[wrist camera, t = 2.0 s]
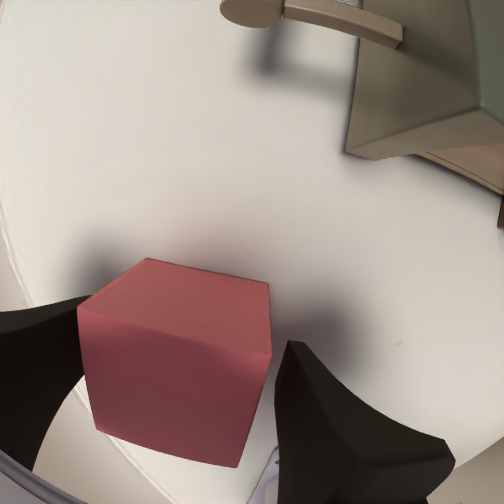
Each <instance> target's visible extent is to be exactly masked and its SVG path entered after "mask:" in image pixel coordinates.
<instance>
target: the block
mask: <svg viewBox="0 0 504 504" xmlns="http://www.w3.org/2000/svg"><path fill="white" fill-rule="evenodd" d="M77 317H78V329H79V339H80V347H81V355H82V362H83V368H84V374H85V380H86V386H87V391H88V396H89V401H90V405H91V410H92V414H93V418H94V422H95V426H96V429H97V430H99V431H101V432H104V433H106V434H109V435H111V436H114V437H117V438H119V439H122V440H125V441H127V442H130V443H133V444H136V445H139V446H142V447H145V448H148V449H152V450H155V451H158V452H162V453H165V454H169V455H173V456H177V457H181V458H185V459H189V460H194V461H198V462H203V463H208V464H213V465H219V466H224V467H231V468H237V467H238V464H239V462H240V459H241V456H242V453H243V450H244V447H245V444H246V441H247V438H248V435H249V432H250V429H251V425H252V422H253V419H254V416H255V413H256V410H257V406H258V403H259V400H260V397H261V393H262V390H263V387H264V383H265V380H266V377H267V373H268V370H269V366H270V363H271V359H272V342H271V322H270V302H269V285H268V284H267V283H263V282H257V281H252V280H247V279H242V278H237V277H232V276H227V275H222V274H217V273H212V272H208V271H203V270H198V269H193V268H189V267H184V266H179V265H175V264H170V263H165V262H161V261H156V260H152V259H147V258H146V259H144V260H143V261H141V262H140V263H138V264H137V265H135V266H134V267H132V268H131V269H129V270H128V271H126V272H125V273H124V274H122V275H121V276H119V277H118V278H116V279H115V280H114V281H112V282H111V283H109V284H108V285H106V286H105V287H104V288H102V289H101V290H99V291H98V292H97V293H95V294H94V295H92V296H91V297H90V298H88V299H87V300H86V301H84V302H83V303H81V304H80V305H79V306H78V307H77Z"/></svg>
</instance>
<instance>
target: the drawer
mask: <svg viewBox="0 0 504 504" xmlns="http://www.w3.org/2000/svg"><path fill="white" fill-rule="evenodd" d="M220 12H221V14H222V15H223V16H224V17H225V18H226V19H227V20H229V21H231V22H233V23H235V24H238V25H241V26H246V27H252V28H265V27H270V26H273V25H275V24H277V23H278V22H279V21H280V20H281V17H282V15H283V18H286V19H292V20H297V21H302V22H306V23H311V24H315V25H319V26H323V27H327V28H331V29H334V30H338V31H341V32H345V33H348V34H351V35H354V36H357V37H360V48H359V58H358V67H357V75H356V83H355V91H354V98H353V105H352V112H351V118H350V124H349V130H348V136H347V142H346V148H345V150H346V152H348V153H351V154H355V155H358V156H361V157H365V158H368V159H371V160H380V159H386V158H391V157H397V156H403V155H409V154H417V155H420V156H422V157H425V158H427V159H430V160H432V161H434V162H437V163H439V164H441V165H443V166H446V167H448V168H450V169H452V170H454V171H456V172H458V173H461V174H463V175H465V176H467V177H469V178H471V179H473V180H475V181H477V182H479V183H480V184H482V185H484V186H486V187H488V188H490V189H492V190H493V191H495V192H497V193H499V194H501V195H502V196H504V0H363V9H360V8H357V7H354V6H351V5H348V4H344V3H341V2H337V1H334V0H222V2H221V4H220ZM282 12H283V14H282Z"/></svg>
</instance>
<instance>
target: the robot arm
mask: <svg viewBox="0 0 504 504" xmlns="http://www.w3.org/2000/svg"><path fill="white" fill-rule="evenodd" d="M91 296H92V295H88V296H82V297H78V298H73V299H69V300H65V301H61V302H57V303H53V304H49V305H44V306H40V307H35V308H30V309H25V310H16V311H6V312H0V504H88V503H86V502H84V501H81V500H80V499H78V498H76V497H74V496H72V495H70V494H68V493H66V492H64V491H62V490H60V489H59V488H57V487H55V486H53V485H52V484H50V483H48V482H47V481H45V480H43V479H42V478H40V477H38V476H37V475H35V474H34V473H32V470H33V467H34V464H35V461H36V458H37V455H38V452H39V449H40V447H41V444H42V442H43V439H44V437H45V435H46V432H47V430H48V428H49V426H50V424H51V422H52V420H53V418H54V416H55V415H56V413H57V411H58V409H59V408H60V406H61V404H62V402H63V401H64V399H65V398H66V396H67V395H68V394H69V393H70V391H71V390H72V389H73V388H74V386H75V385H76V384H77V383H78V381H79V380H80V379H81V378H82V377H83V375H84V368H83V362H82V355H81V347H80V339H79V329H78V317H77V307H78V306H79V305H80V304H81V303H83V302H84V301H86V300H87V299H88V298H90V297H91ZM274 407H275V418H276V427H277V437H278V447H279V449H278V450H276V451H274V452H273V454H272V456H271V458H270V460H269V463H268V465H267V467H266V469H265V471H264V473H263V475H262V477H261V479H260V481H259V483H258V485H257V487H256V489H255V491H254V493H253V494H252V496H251V498H250V500H249V502H248V504H428V502H427V499H426V497H427V496H428V495H429V494H431V493H432V491H434V490H435V489H436V488H437V487H438V486H439V485H440V484H441V483H442V482H443V481H444V480H445V479H446V478H447V477H448V476H449V475H450V473H451V472H452V470H453V468H454V466H455V461H456V460H455V458H454V456H453V454H452V453H451V451H450V449H449V447H448V445H447V444H446V442H445V440H444V439H440V438H437V437H434V436H431V435H428V434H425V433H422V432H419V431H416V430H414V429H411V428H409V427H407V426H405V425H402V424H400V423H398V422H396V421H394V420H392V419H390V418H388V417H387V416H385V415H383V414H382V413H380V412H378V411H377V410H375V409H374V408H372V407H371V406H369V405H368V404H366V403H365V402H364V401H362V400H361V399H360V398H358V397H357V396H356V395H354V394H353V393H352V392H351V391H350V390H348V389H347V388H346V387H345V386H344V385H343V384H342V383H341V382H340V381H339V380H338V379H337V378H336V377H335V376H334V375H333V374H332V373H331V372H330V371H329V370H328V369H327V368H326V367H325V366H324V365H323V364H322V362H321V361H320V360H319V359H318V358H317V357H316V355H315V354H314V353H313V352H312V351H311V350H310V349H309V347H308V346H307V345H306V344H305V343H304V342H298V341H291V340H288V341H287V345H286V348H285V351H284V355H283V358H282V361H281V365H280V368H279V371H278V374H277V377H276V380H275V393H274ZM457 504H462V503H457Z"/></svg>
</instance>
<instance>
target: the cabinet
mask: <svg viewBox="0 0 504 504" xmlns="http://www.w3.org/2000/svg"><path fill="white" fill-rule="evenodd" d="M498 227H499V228H500V229H502V230H504V196H503V200H502V207H501V212H500V218H499V223H498Z"/></svg>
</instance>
